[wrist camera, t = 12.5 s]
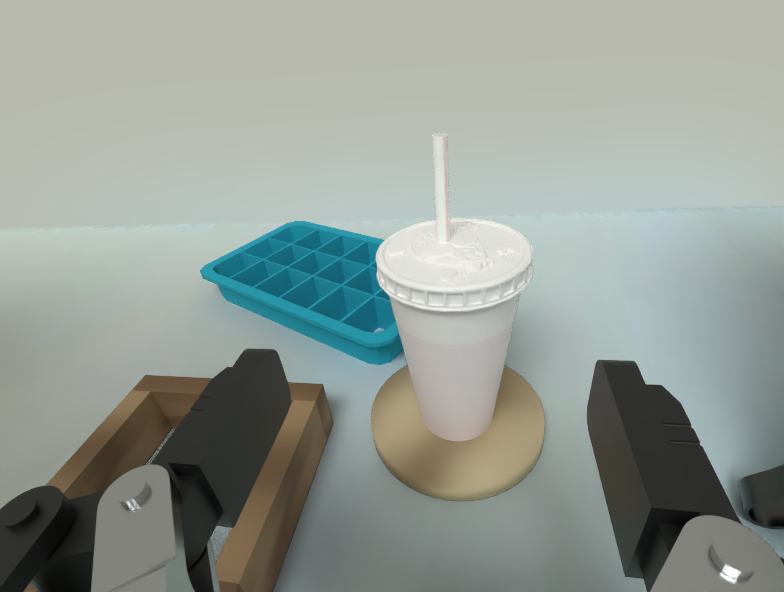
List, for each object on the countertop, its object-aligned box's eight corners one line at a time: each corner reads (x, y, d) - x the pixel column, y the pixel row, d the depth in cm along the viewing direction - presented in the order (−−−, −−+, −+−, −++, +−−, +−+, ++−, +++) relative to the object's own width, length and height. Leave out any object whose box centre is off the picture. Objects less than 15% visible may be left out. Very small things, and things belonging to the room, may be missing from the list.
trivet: (346, 473, 22) (342, 461, 21) (404, 356, 29) (402, 344, 28) (535, 524, 19) (537, 511, 18) (549, 379, 25) (550, 366, 25)
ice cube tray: (387, 386, 27) (381, 349, 25) (205, 301, 38) (192, 271, 36) (476, 294, 34) (475, 261, 33) (301, 245, 45) (295, 219, 44)
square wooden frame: (248, 659, 16) (221, 624, 14) (9, 612, 18) (-38, 577, 16) (333, 422, 24) (322, 384, 23) (165, 410, 27) (145, 375, 25)
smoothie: (463, 355, 26) (459, 110, 19) (547, 421, 22) (588, 130, 14) (373, 404, 24) (328, 143, 16) (447, 491, 19) (432, 180, 12)
